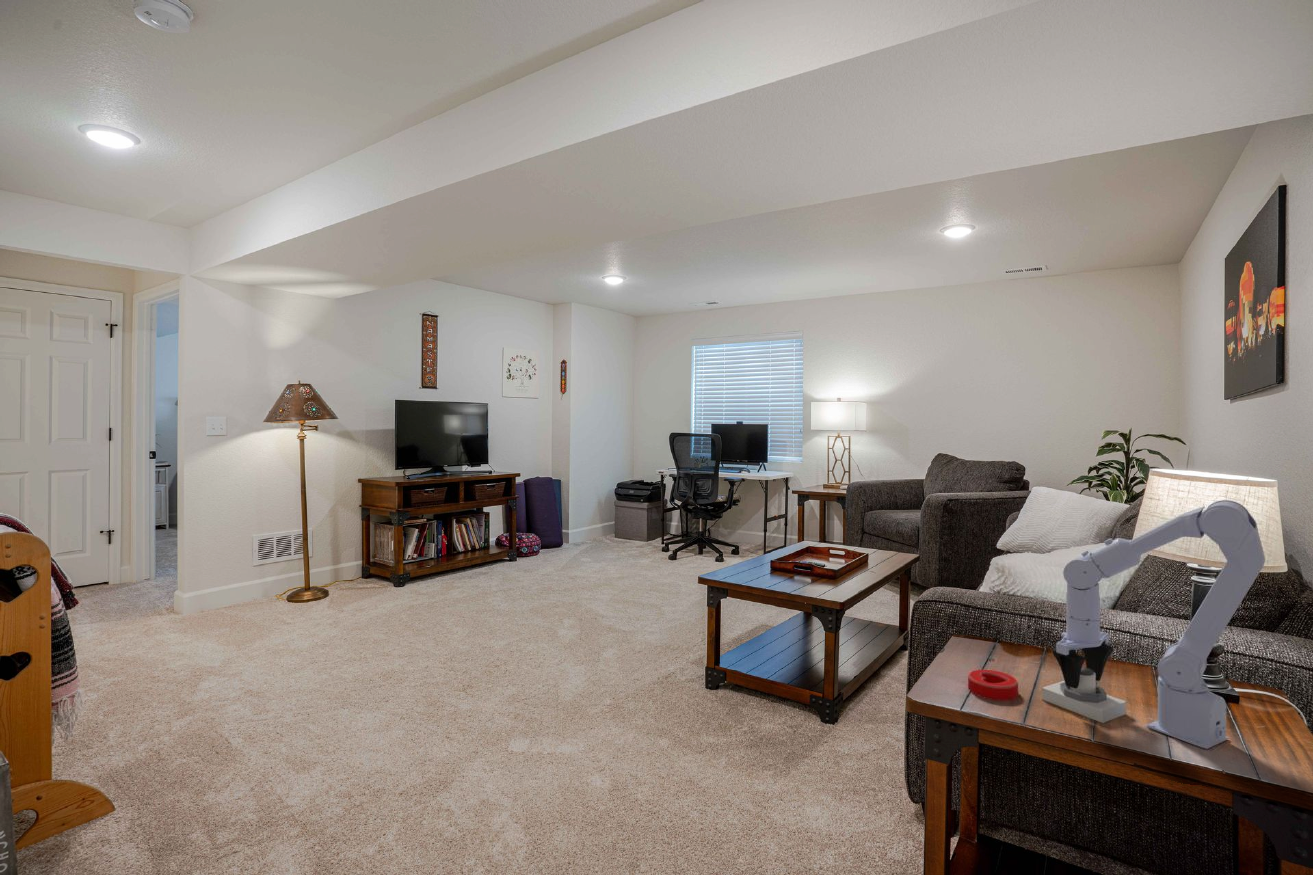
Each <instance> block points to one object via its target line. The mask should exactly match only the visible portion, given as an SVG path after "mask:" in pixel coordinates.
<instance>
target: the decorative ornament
mask: <svg viewBox="0 0 1313 875" xmlns="http://www.w3.org/2000/svg"><path fill="white" fill-rule="evenodd" d="M967 688H968V690H969V691H970V692H971V693H972V694H973V695H976V696H978V695H979V696H978V697H980V696H981V698H983V697H985V698H984V699H987V698H988V700H992V699H995V701H1011V700H1010V699H1013V700H1015V699H1016V697H1017V696H1018V697H1019V682H1018V680H1017V679H1016V678H1015V677H1014V676H1012V675H1010V674H1008V673H1005V672H1002V671H997V670H994V669H993V670H992V669H976V670H975V669H974V670H972V671H970V672H969V673H968V676H967ZM1018 697H1017V698H1018ZM1014 698H1015V699H1014Z"/></svg>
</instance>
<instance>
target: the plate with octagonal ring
mask: <svg viewBox="0 0 1313 875" xmlns="http://www.w3.org/2000/svg"><path fill="white" fill-rule="evenodd" d="M1042 699H1043V701H1045V702H1047V703H1050V704H1052V705H1056V706H1057V707H1060V708H1063V709H1065V710H1068V711H1071V712H1073V713H1076V714H1078V715H1081V716H1083V717H1086V718H1088V719H1091V720H1094V721H1097V722H1100V723H1102V724H1104V723H1106V722H1110V721H1112V720H1115V719H1117V718H1120V717H1122V716H1125V715H1127V700H1123V699H1121V698H1118V697H1114V696H1113V695H1112V696H1111V695H1109V694H1107V692H1106V691H1105V689H1104V688H1102V687H1101V686H1098V685H1096V695H1088V694H1080V693H1077V692H1074V691H1071V690H1070V687H1069V686H1067V685H1066V684H1065V681H1064V680H1061V681H1059V682H1056V683H1055V682H1054V683H1053V684H1049V685H1046V686H1043V687H1041V700H1042Z"/></svg>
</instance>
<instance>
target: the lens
mask: <svg viewBox="0 0 1313 875" xmlns="http://www.w3.org/2000/svg"><path fill="white" fill-rule="evenodd" d="M1096 682H1097V680H1096V674H1095V673H1094V671H1093V670H1091V669H1089V668H1086V666H1085V667H1084V666H1082V668H1081V672H1080V680H1079V686H1078V688H1076V689H1075V688H1072V687H1070V690H1071V691H1074V692H1077V693H1080V694H1088V695H1096V686H1097V684H1096Z"/></svg>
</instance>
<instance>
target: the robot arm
mask: <svg viewBox="0 0 1313 875" xmlns="http://www.w3.org/2000/svg"><path fill="white" fill-rule="evenodd" d="M1257 524H1258V523H1257V521H1256V520H1255V518H1254V517H1253V515H1251V513H1250V512H1249V510H1248V509H1247V508H1246V507H1245V506H1244V505H1242V504H1241V503H1240V502H1237V501H1234V500H1229V499H1223V500H1222V499H1221V500H1217V501H1214V502H1212V503H1210V505H1208V506H1207V507H1205V506H1201V507H1198V508H1195V509H1192V510H1189V511H1187V512H1186V511H1185V512H1183V513H1181V514H1179V515H1177V516H1175V517H1173V518H1171V519H1169V520H1167V521H1166V522H1164V523H1162V524H1160V525H1157V526H1156V527H1154V528H1152V529H1150V530H1148V531H1146V532H1144V533H1142V534H1140V535H1139V536H1136V537H1134V538H1132V539H1126V538H1121V537H1118V538H1115V539H1113V538H1112V537H1110V538H1108V539H1106V540H1105V541H1103V543H1104V544H1103V545H1101V546H1100V547H1096V548H1095V549H1092V550H1091V551H1088V550H1085V551H1083V552H1082V553H1081V556H1079V557H1075V558H1074V559H1072V560H1071V561H1070V562H1068V563H1067V564H1066V565H1065V567H1064V568H1063V572H1062V573H1063V579H1064V580H1065V581H1066V593H1065V595H1066V599H1065V600H1066V602H1065V603H1066V604H1065V606H1066V609H1065V610H1066V614H1065V615H1066V616H1065V617H1066V618H1065V620H1066V629H1065V630H1066V631H1064V632H1062V633H1060V635H1061V637H1062V639H1061V640H1060V641H1058V642H1056V643H1055V646H1056V647H1054V648H1052V655H1053V656H1054V658H1055V659H1056V661H1057V663H1058V665H1059V668H1060V670H1061V673H1062V677H1063V681H1065V684H1066V685H1067V686H1069V687H1072V688H1075V689H1076V688H1078V686H1079V680H1080V672H1081V668H1082V667H1083V665H1084V663H1085V667H1086V668H1089V669H1091V670H1093V671H1094V673H1095V674H1096V682H1097V681H1098V682H1100V681H1101V679H1102V676H1103V672H1104V668H1105V666H1106V663H1107V661H1108V659H1109V657H1110V656H1111V655H1112V653H1113V652H1114V646H1112V645H1109V642H1110V641H1109V640H1110V637H1109V636H1110V634H1109V633H1108V632H1103V631H1101V596H1100V583H1099V582H1100V581H1101V580H1102V579H1109V578H1111V577H1113V576H1116V575H1118V574H1120V573H1123V572H1125V571H1126V570H1129V569H1131V568H1133V567H1136V566H1138V565H1139V564H1140V563H1141V562H1140V561H1141V556H1142V555H1144V554H1145V553H1148V552H1150V551H1153V550H1156V549H1157V548H1160V547H1162V546H1164V545H1167V544H1169V543H1171V542H1174V541H1176V540H1178V539H1181V538H1185V537H1186V538H1196V539H1202V538H1203V537H1204V535H1205V536H1207V537H1208V538H1210V540H1212V541H1213V542H1214V543H1215V544H1216V545H1218V548H1219V549H1220V551H1221V552H1222V554H1223V556H1224V558H1225V559H1226V561H1225V564H1224V565H1223V567H1222V569H1221V571H1220V572H1219V574H1218V575H1217V577H1216V579H1215V581H1214V583H1213V584H1212V586H1211V587H1210V589H1209V591H1208V593H1207V594H1206V596H1205V597H1204V599H1203V601H1202V602H1201V604H1200V606H1199V608H1198V609H1197V611H1196V613H1195V614H1194V616H1193V617H1192V619H1191V621H1190V623H1189V624H1188V626H1187V627H1186V629H1185V631H1184V632H1183V634H1182V635H1181V637H1180V638H1179V640H1178V641H1176V642H1175V643H1173V644H1171V645H1169V646H1168V647H1167V648H1166V650H1165V651H1164V655H1163V656H1162V658H1161V659H1160V660H1159V662H1158V664H1157V673H1158V677H1157V720H1155V721H1153V722H1150V723H1148V724H1147V725H1146V727H1147V728H1149V729H1150V730H1153V731H1157V732H1159V733H1163V734H1164V735H1166V736H1170V737H1173V738H1175V739H1178V740H1181V741H1183V742H1186V743H1188V744H1191V745H1194V746H1196V747H1199V748H1202V749H1205V750H1208V749H1210V748H1212V747H1214V746H1216V745H1218V744H1220V743H1222V742H1225V741H1227V740H1228V739H1229V736H1228V735H1227V704H1226V700H1225V699H1224V698H1223V697H1222V696H1220V695H1218V694H1215V693H1213V692H1212V691H1210V690H1209V687H1208V684H1207V683H1206V682H1205V680H1204V679H1203V675H1204V672H1205V671H1206V669H1207V666H1208V665H1207V664H1208V662H1207V660H1208V659H1207V658H1208V657H1209V655H1210V653H1211V652H1212V650H1213V648H1214V647H1215V645H1216V643H1217V641H1218V640H1219V638H1220V637H1221V636H1222V633H1223V632H1224V630H1225V628H1226V627H1227V625H1228V624H1229V622H1230V621H1231V619H1232V617H1233V615H1234V614H1235V613H1236V611H1237V610H1238V608H1239V606H1240V605H1241V603H1242V601H1243V600H1244V598H1245V596H1246V595H1247V594H1248V592H1249V591H1250V588H1251V587H1252V585H1253V584H1254V582H1255V580H1256V579H1257V578H1258V575H1259V574H1260V572H1262V569H1263V568H1264V565H1265V563H1266V557H1265V552H1264V549H1263V546H1262V541H1261V538H1260V533H1259V529H1258V525H1257ZM1078 650H1082V651H1083V655H1084V656H1082V655H1078V652H1076V651H1078Z"/></svg>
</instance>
